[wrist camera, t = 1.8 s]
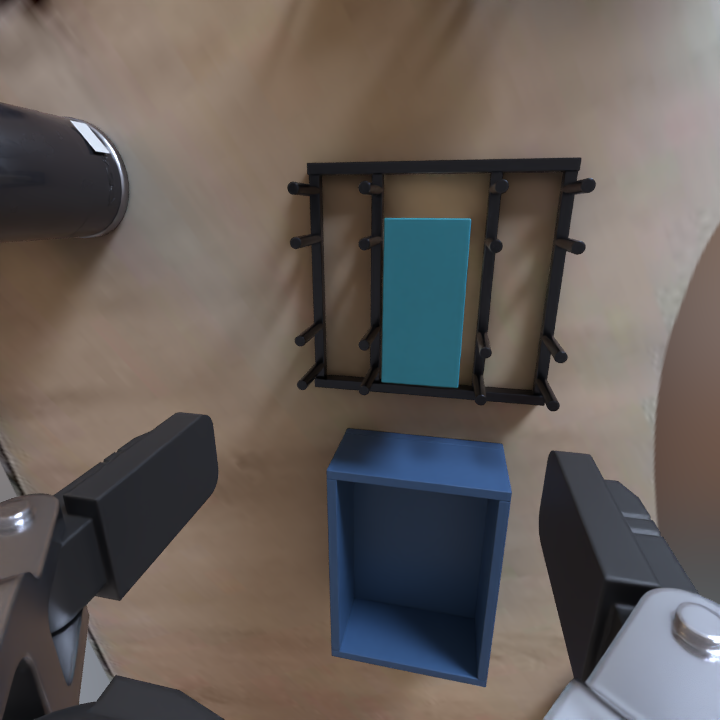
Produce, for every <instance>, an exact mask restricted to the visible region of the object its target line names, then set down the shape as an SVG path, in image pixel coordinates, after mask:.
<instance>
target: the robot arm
mask: <svg viewBox="0 0 720 720" xmlns="http://www.w3.org/2000/svg"><path fill="white" fill-rule="evenodd" d="M128 200H129V182H128V176H127V172H126V168H125V165H124V163H123V160H122V158H121V156H120V154H119V152H118V150H117V149H116V147H115V146H114V144H113V143H112V142H111V140H110V139H109V138H108V137H107V136H106V135H105V134H104V133H103V132H102V131H101V130H99V129H98V128H97V127H95V126H94V125H92V124H90V123H88V122H85V121H83V120H79V119H75V118H71V117H60V116H56V115H52V114H47V113H43V112H40V111H36V110H32V109H27V108H23V107H19V106H14V105H10V104H6V103H1V102H0V243H6V242H19V241H32V240H46V239H62V238H75V237H80V238H91V237H99V236H103V235H105V234H108V233H109V232H111V231H112V230H113V229H115V228H116V227H117V226H118V224H119V223H120V222H121V220H122V218H123V217H124V214H125V212H126V209H127V205H128ZM217 480H218V462H217V454H216V445H215V437H214V429H213V423H212V420H211V418H210V417H209V416H208V415H202V414H192V413H182V412H178V413H175V414H174V415H172V416H171V417H170V418H168V419H167V420H166V421H164V422H163V423H161V424H160V425H159V426H157V427H156V428H155V429H153V430H152V431H150V432H148V433H145V434H143V435H141V436H138V437H136V438H134V439H132V440H131V441H130V442H128V443H127V444H125V445H124V446H122V447H121V448H120V449H118V451H117V453H115V452H114V453H113V454H111V455H110V456H108V457H107V458H106V459H104V462H103V463H102V462H100V463H99V464H97V465H96V466H94V467H93V468H91V469H90V470H89V471H87V472H86V473H84V474H83V475H82V476H80V477H79V478H77V479H76V480H75V481H73V482H72V483H70V484H69V485H68V486H66V487H65V488H63V489H62V490H60V491H59V492H58V493H56V494H55V495H49V494H29V495H23V496H19V497H15V498H12V499H9V500H6V501H3V502H1V503H0V720H224V719H223V718H221V717H220V716H218V715H217V714H215V713H214V712H212V711H211V710H209V709H208V708H206V707H204V706H203V705H201V704H200V703H198V702H197V701H195V700H194V699H192V698H191V697H189V696H188V695H186V694H185V693H183V692H181V691H180V690H177V689H172V688H168V687H164V686H160V685H155V684H151V683H147V682H143V681H139V680H134V679H130V678H126V677H122V676H117V675H115V677H114V678H113V680H112V681H111V682H110V684H109V685H108V687H107V688H106V689H105V691H104V692H103V693H102V695H101V696H100V697H99V699H98V700H97V702H90V703H85V704H80V705H79V696H80V689H81V681H82V673H83V672H82V671H83V664H84V656H85V648H86V640H87V632H88V623H89V613H88V609H87V604H88V602H89V601H90V600H91V599H92V598H93V597H94V596H98V597H103V598H108V599H113V600H118V601H120V600H121V599H122V598H123V597H124V596H125V594H126V593H127V592H128V591H129V590H130V589H131V587H132V586H133V585H134V584H135V583H136V582H137V580H138V579H139V578H140V577H141V576H142V575H143V574H144V572H145V571H146V570H147V569H148V568H149V567H150V565H151V564H152V563H153V562H154V561H155V560H156V558H157V557H158V556H159V555H160V554H161V553H162V551H163V550H164V549H165V548H166V547H167V546H168V544H169V543H170V542H171V541H172V540H173V539H174V538H175V536H176V535H177V534H178V533H179V532H180V531H181V529H182V528H183V527H184V526H185V525H186V524H187V522H188V521H189V520H190V519H191V518H192V517H193V515H194V514H195V513H196V512H197V511H198V510H199V508H200V507H201V506H202V505H203V504H204V503H205V502H206V500H207V499H208V498H209V497H210V496H211V494H212V493H213V491H214V489H215V487H216V484H217ZM539 536H540V542H541V546H542V550H543V554H544V558H545V562H546V566H547V570H548V574H549V578H550V582H551V587H552V591H553V595H554V599H555V603H556V607H557V611H558V615H559V619H560V623H561V627H562V631H563V635H564V639H565V643H566V647H567V651H568V655H569V659H570V663H571V667H572V671H573V675H574V679H573V680H572V681H571V682H570V683H569V684H568V685H567V686H566V687H565V689H564V690H563V691H562V693H561V694H560V696H559V697H558V699H557V700H556V701H555V703H554V704H553V706H552V707H551V709H550V710H549V712H548V713H547V714H546V716H545V717H544V719H543V720H720V605H719V604H717V603H716V602H714V601H712V600H710V599H707V598H705V597H703V596H700V595H699V593H698V592H697V590H696V589H695V587H694V585H693V584H692V582H691V581H690V579H689V577H688V576H687V574H686V573H685V571H684V569H683V568H682V566H681V565H680V563H679V561H678V560H677V558H676V557H675V555H674V553H673V552H672V550H671V549H670V547H669V545H668V544H667V542H666V541H665V539H664V537H661V535H660V531H659V529H658V528H657V526H656V525H655V523H654V521H653V520H651V519H650V515H649V513H648V512H647V510H646V509H645V507H644V505H643V504H642V502H641V501H640V499H639V498H638V497H637V496H636V495H635V494H633V493H632V492H631V491H630V490H628V489H627V488H626V487H625V486H623V485H622V484H621V483H620V482H618V481H613V480H604V479H603V477H602V475H601V473H600V471H599V469H598V467H597V466H596V464H595V462H594V460H593V458H592V457H591V455H589V454H582V453H572V452H562V451H551V452H550V454H549V457H548V461H547V467H546V474H545V480H544V486H543V493H542V499H541V505H540V512H539Z"/></svg>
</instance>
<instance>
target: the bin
mask: <svg viewBox="0 0 720 720" xmlns="http://www.w3.org/2000/svg"><path fill="white" fill-rule="evenodd" d="M511 495H512V491H511V486H510V481H509V476H508V470H507V465H506V460H505V454H504V449H503V444H499V443H489V442H479V441H469V440H460V439H450V438H440V437H430V436H420V435H410V434H400V433H390V432H380V431H370V430H360V429H350V428H347V430H346V432H345V435H344V437H343V439H342V441H341V443H340V445H339V447H338V449H337V451H336V453H335V455H334V457H333V459H332V461H331V463H330V464H329V466H328V468H327V507H328V542H329V578H330V614H331V649H332V656H335V657H340V658H345V659H350V660H355V661H360V662H365V663H369V664H374V665H379V666H384V667H389V668H394V669H399V670H404V671H408V672H413V673H418V674H423V675H428V676H433V677H438V678H443V679H447V680H452V681H457V682H462V683H467V684H472V685H477V686H482V687H486V682H487V675H488V668H489V660H490V653H491V645H492V638H493V630H494V622H495V615H496V607H497V600H498V592H499V585H500V577H501V570H502V562H503V555H504V547H505V540H506V532H507V525H508V517H509V510H510V501H511Z"/></svg>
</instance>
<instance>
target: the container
mask: <svg viewBox="0 0 720 720" xmlns="http://www.w3.org/2000/svg"><path fill="white" fill-rule="evenodd" d="M470 230H471V219H470V218H385V219H384V257H383V314H382V371H381V381H382V382H385V383H398V384H410V385H423V386H436V387H449V388H458V382H459V369H460V357H461V344H462V331H463V319H464V306H465V293H466V281H467V268H468V255H469V243H470Z"/></svg>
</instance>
